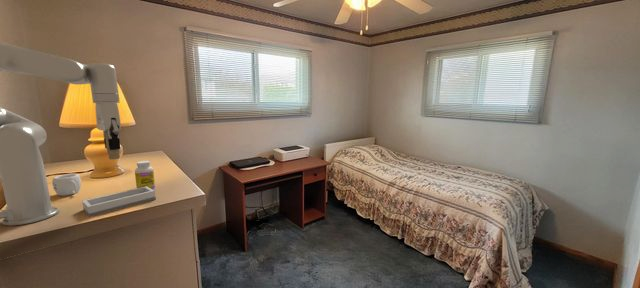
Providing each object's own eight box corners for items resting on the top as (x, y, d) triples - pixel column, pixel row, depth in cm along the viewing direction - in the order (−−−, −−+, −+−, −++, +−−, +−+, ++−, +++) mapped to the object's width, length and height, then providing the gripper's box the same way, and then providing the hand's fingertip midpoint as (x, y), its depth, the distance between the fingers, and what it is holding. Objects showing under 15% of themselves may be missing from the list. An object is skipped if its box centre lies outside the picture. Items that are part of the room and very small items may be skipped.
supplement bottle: (140, 194, 107) (136, 164, 105) (134, 191, 111) (131, 162, 109) (158, 190, 112) (154, 161, 110) (152, 187, 116) (148, 159, 114)
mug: (51, 195, 106) (47, 177, 105) (77, 189, 114) (74, 172, 112) (63, 200, 101) (60, 181, 100) (90, 193, 108) (87, 175, 107)
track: (89, 216, 86) (87, 207, 85) (83, 209, 92) (81, 200, 91) (155, 199, 101) (154, 190, 101) (147, 194, 107) (146, 186, 107)
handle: (111, 161, 92) (105, 119, 90) (102, 159, 95) (96, 119, 93) (126, 158, 97) (121, 118, 94) (117, 156, 100) (112, 118, 97)
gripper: (86, 99, 94) (93, 147, 97) (100, 98, 84) (107, 152, 87) (111, 99, 100) (117, 145, 103) (126, 98, 90) (133, 149, 93)
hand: (112, 148), depth 95 cm, fingers closed on handle, 4 cm apart
